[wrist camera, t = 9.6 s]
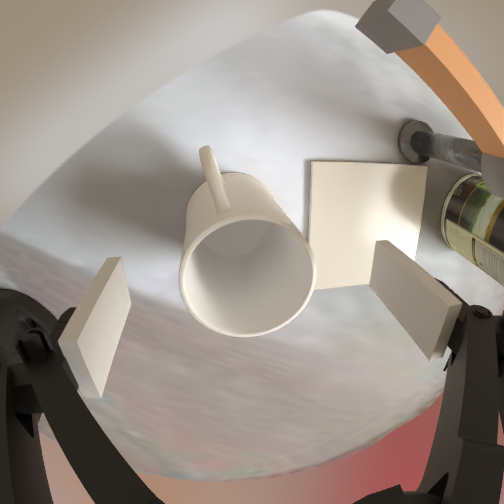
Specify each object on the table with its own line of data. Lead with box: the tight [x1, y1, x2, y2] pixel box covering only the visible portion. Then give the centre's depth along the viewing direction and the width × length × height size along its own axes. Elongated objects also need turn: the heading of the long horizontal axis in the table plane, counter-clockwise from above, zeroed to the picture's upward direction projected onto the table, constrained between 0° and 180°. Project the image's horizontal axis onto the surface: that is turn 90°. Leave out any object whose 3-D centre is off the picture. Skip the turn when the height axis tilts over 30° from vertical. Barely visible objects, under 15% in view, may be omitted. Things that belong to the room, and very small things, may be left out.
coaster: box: [308, 161, 428, 290], centre depth 31 cm, size 13×13×1 cm
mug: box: [179, 146, 317, 337], centre depth 23 cm, size 12×8×12 cm
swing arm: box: [355, 0, 504, 199], centre depth 14 cm, size 17×5×4 cm, turn 57°
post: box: [398, 121, 482, 172], centre depth 23 cm, size 4×4×12 cm
